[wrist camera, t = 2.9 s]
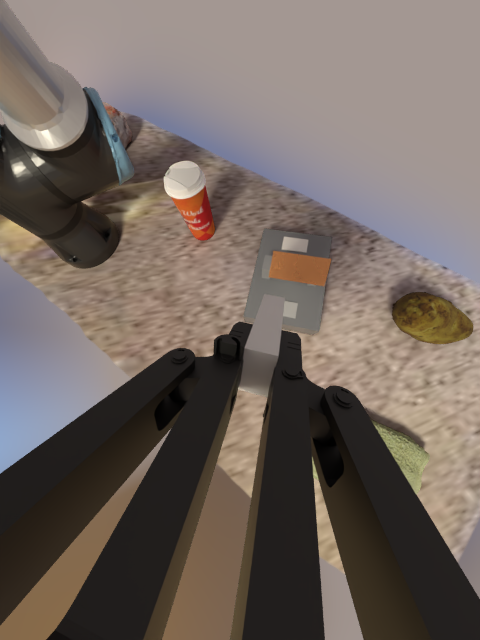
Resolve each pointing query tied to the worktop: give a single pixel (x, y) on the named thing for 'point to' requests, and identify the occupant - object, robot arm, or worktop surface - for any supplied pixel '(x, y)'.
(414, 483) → the washcloth
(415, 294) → the potato
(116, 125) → the food item
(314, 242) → the switch block
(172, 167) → the paper cup
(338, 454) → the robot arm
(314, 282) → the lever
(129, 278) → the worktop surface
